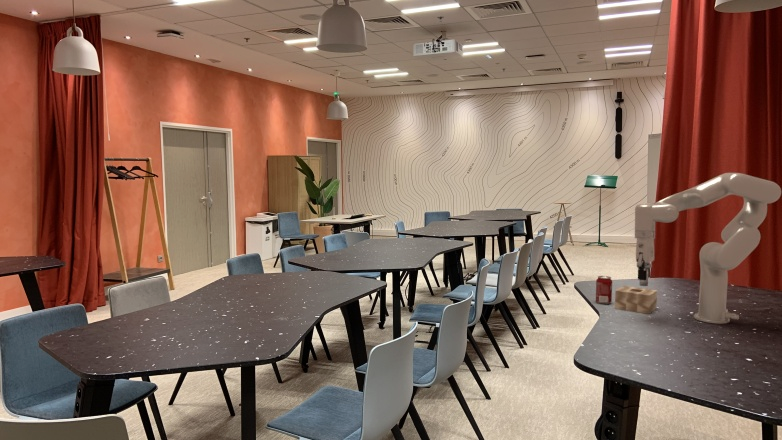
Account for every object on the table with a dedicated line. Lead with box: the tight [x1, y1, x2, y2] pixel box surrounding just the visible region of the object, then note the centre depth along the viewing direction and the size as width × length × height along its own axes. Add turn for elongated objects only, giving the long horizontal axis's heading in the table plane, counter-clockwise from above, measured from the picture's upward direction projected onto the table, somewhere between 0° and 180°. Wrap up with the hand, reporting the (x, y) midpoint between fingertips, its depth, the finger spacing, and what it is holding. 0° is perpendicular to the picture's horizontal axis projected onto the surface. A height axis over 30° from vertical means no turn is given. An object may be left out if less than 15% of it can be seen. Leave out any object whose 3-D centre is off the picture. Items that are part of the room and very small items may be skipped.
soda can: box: [595, 275, 613, 305], centre depth 247 cm, size 7×7×12 cm
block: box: [614, 285, 658, 315], centre depth 237 cm, size 14×12×8 cm
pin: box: [636, 262, 653, 287], centre depth 221 cm, size 6×6×9 cm
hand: (644, 278), depth 221 cm, fingers closed on pin, 4 cm apart
